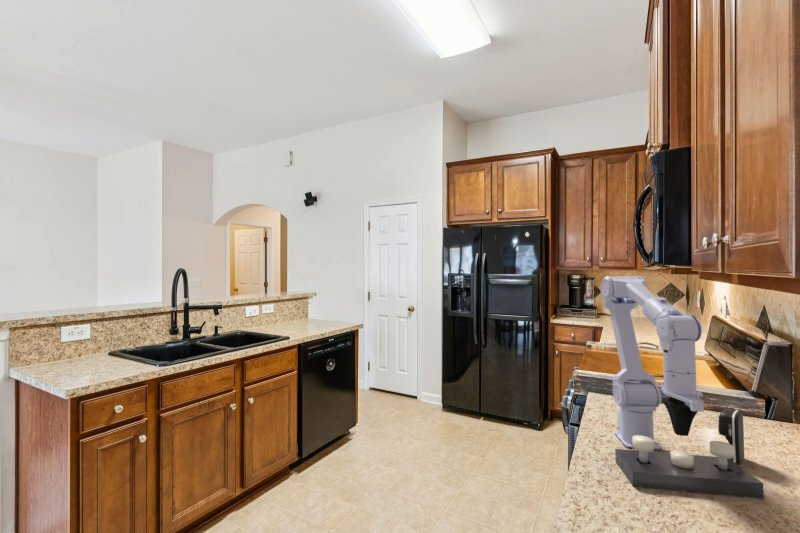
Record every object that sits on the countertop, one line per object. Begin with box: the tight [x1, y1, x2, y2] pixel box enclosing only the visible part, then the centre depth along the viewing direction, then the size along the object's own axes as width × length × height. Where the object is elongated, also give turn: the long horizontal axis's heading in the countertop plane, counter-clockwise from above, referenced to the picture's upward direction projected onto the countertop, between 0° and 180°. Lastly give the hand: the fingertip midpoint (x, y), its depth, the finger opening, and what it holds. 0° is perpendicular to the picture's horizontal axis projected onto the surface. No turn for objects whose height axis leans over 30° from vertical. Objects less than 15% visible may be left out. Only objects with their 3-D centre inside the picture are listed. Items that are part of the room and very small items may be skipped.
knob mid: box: [670, 449, 694, 468], centre depth 83 cm, size 4×4×5 cm
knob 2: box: [709, 440, 735, 470], centre depth 82 cm, size 4×4×5 cm
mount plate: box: [614, 448, 765, 500], centre depth 83 cm, size 11×23×3 cm, turn 78°
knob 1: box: [632, 435, 655, 463], centre depth 85 cm, size 4×4×5 cm
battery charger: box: [717, 408, 745, 466], centre depth 92 cm, size 7×4×11 cm, turn 131°
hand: (681, 434), depth 83 cm, fingers closed
